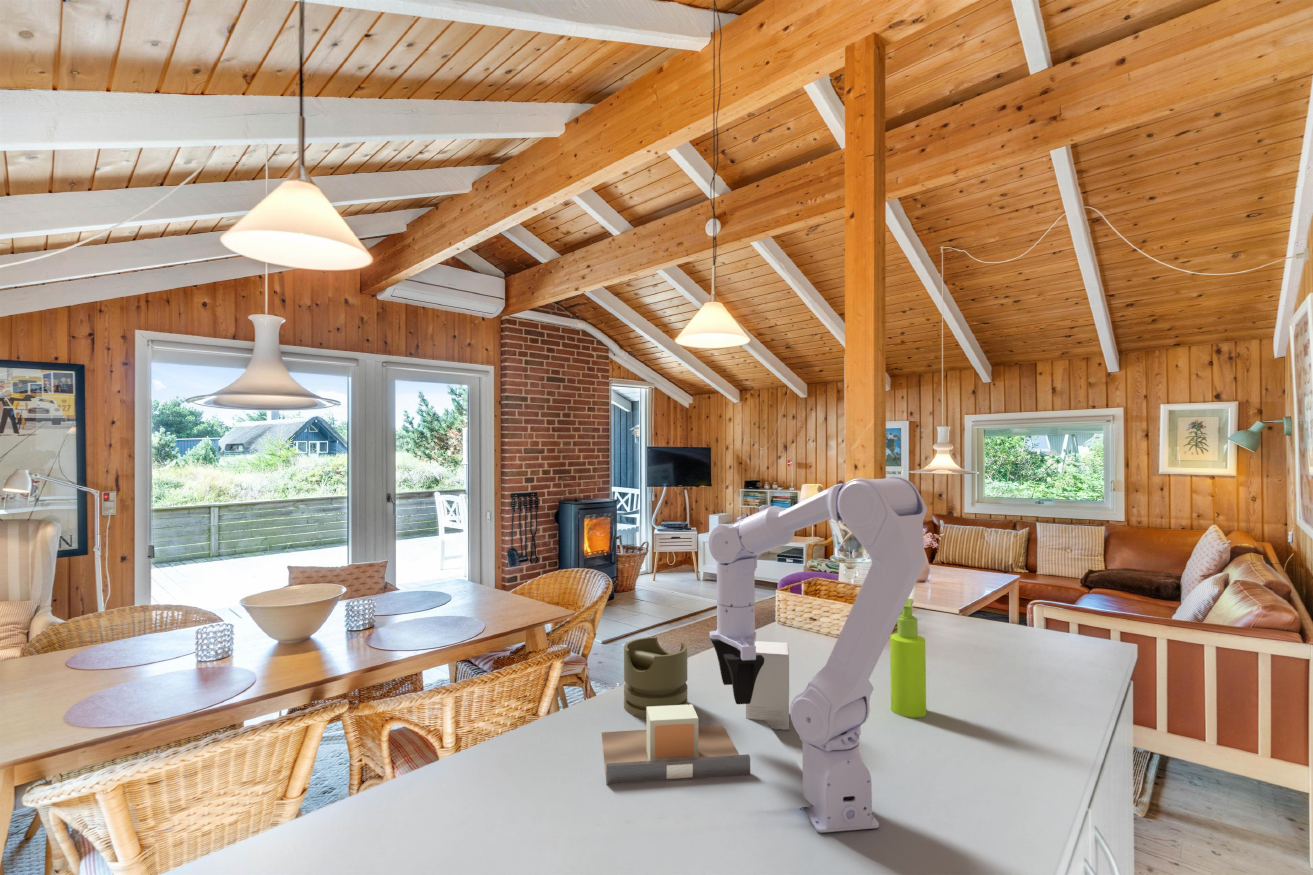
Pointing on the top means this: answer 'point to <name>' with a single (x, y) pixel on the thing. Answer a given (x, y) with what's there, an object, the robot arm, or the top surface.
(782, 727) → the supplement box
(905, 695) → the soap dispenser
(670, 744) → the carton
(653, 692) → the piston
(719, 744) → the shelf board
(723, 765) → the rail
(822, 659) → the top surface
